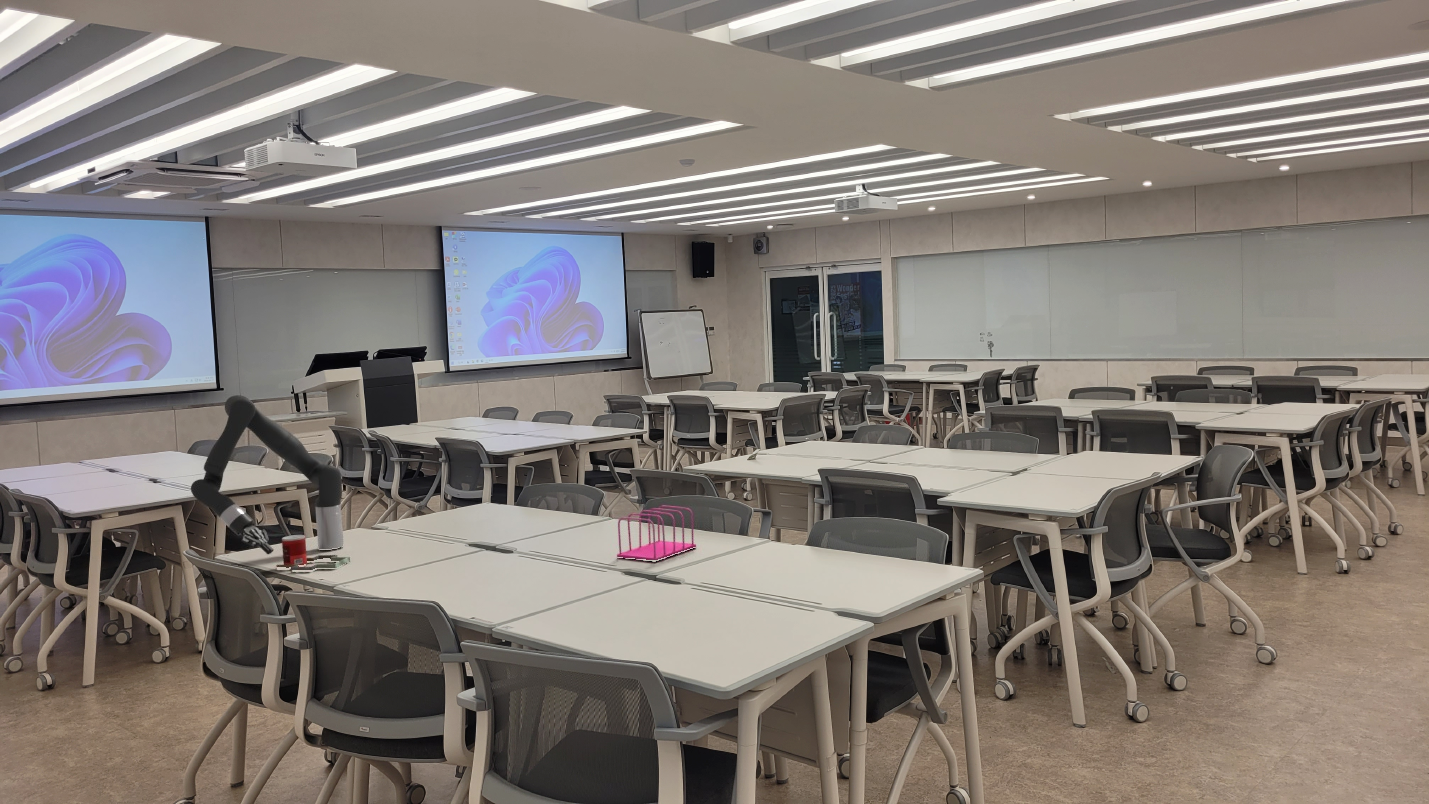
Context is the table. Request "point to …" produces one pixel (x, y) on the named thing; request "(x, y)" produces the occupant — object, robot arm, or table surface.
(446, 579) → the table surface
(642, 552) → the file sorter
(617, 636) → the table surface
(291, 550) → the canned food
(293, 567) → the trap track
